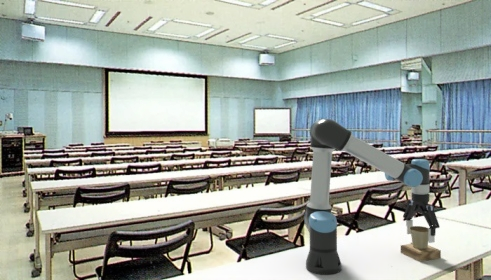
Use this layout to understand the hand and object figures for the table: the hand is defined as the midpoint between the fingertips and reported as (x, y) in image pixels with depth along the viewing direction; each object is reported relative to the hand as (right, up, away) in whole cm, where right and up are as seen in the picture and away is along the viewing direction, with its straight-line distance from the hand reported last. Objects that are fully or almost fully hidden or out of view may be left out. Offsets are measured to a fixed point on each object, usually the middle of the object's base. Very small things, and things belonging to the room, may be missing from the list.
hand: (420, 237), depth 177 cm
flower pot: (0, -5, 0) cm, 5 cm away
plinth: (0, -8, +1) cm, 8 cm away
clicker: (+2, -8, +11) cm, 14 cm away
